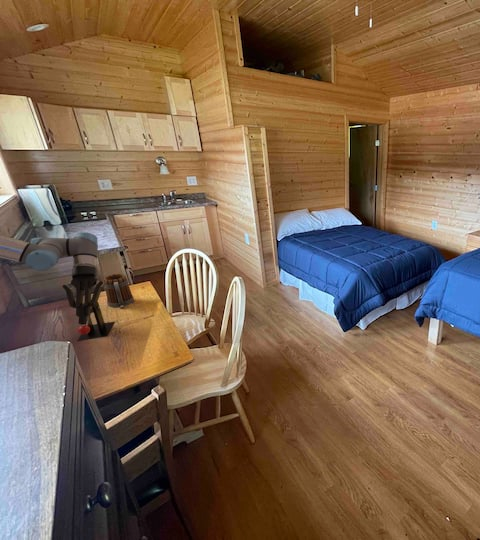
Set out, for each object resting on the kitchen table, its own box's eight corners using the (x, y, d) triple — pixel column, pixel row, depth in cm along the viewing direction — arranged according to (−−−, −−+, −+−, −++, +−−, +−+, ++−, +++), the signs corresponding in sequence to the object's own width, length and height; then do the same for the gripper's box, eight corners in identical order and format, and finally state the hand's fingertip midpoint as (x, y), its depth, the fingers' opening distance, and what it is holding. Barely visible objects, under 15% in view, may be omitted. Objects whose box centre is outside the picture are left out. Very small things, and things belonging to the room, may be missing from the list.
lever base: (108, 338, 125) (99, 309, 120) (77, 343, 121) (67, 314, 116) (115, 323, 135) (108, 296, 130) (87, 327, 131) (78, 299, 126)
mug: (107, 302, 151) (99, 275, 145) (133, 297, 157) (126, 271, 152) (109, 316, 140) (101, 287, 134) (137, 309, 147) (130, 282, 141)
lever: (90, 335, 117) (87, 330, 115) (78, 337, 116) (75, 331, 113) (97, 308, 126) (94, 302, 124) (86, 309, 125) (83, 303, 122)
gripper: (108, 270, 129) (107, 323, 122) (68, 273, 124) (65, 329, 116) (101, 263, 122) (100, 318, 115) (59, 266, 117) (55, 324, 110)
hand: (82, 323), depth 116 cm, fingers closed
